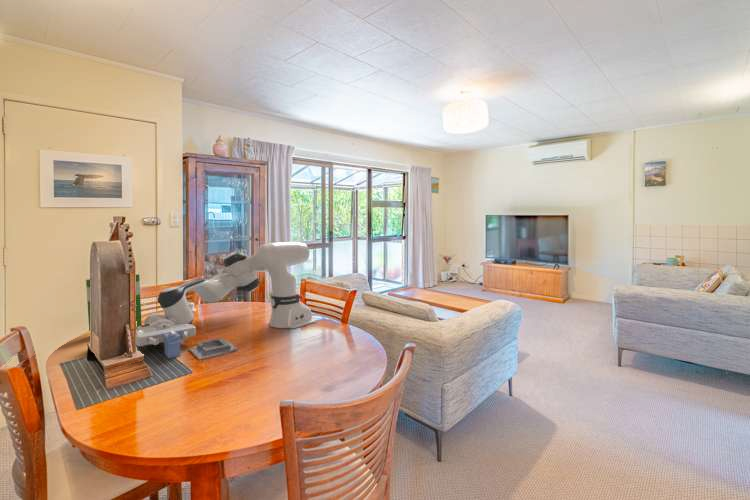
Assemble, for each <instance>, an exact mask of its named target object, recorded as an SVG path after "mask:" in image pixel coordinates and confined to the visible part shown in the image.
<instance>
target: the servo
mask: <svg viewBox="0 0 750 500" xmlns="http://www.w3.org/2000/svg"><path fill="white" fill-rule="evenodd" d="M163 339H164V342H163V343H164V345H163V347H164V355H165V356H166V358H167V359H172V358H175V357H177V358H178V357H180V356H181V343H182V341H181V339H180V336H179V335H178V334H177V333H176V332H174V331H173V330H172V331H170V333H168V334H164V337H163Z"/></svg>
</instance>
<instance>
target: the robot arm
mask: <svg viewBox="0 0 750 500" xmlns="http://www.w3.org/2000/svg"><path fill="white" fill-rule="evenodd" d="M256 250H257V251H256V252H255V253H254V254H253V255H251V256H248V253H243V252H241V251H235V252H231V253H229V254H228V255H226V257H225V258H224V259H223V265H224V268H226V271H227V272H228V273H226V272H224V273H220V274H217V275H214V276H212V277H211V278H209V279H207V277H200V278H199V277H198V278H196V279H192V280H190V281H186V282H184V283H181V284H177V285H175V286H172V287H168V288H165V289H163V290H161V291H160V293H159V294H158V297H157V299H156V300H157V302H158V305H160V307H161V309H162V311H163V313H159V312H154V313H151V314H149V315H148V316H147V317H146V318H145V320H144V323H143V325H142V326H139V327H137V328H136V332H135V346H136V347H143V346H148V345H154V346H157V345H159V344H160V343H161V344H162V343H164V339H163V337H164V334H168V333H170V331H172V330H173V331H174V332H176V333H177V334H178V335H179V336H180V340H181V339H182V340H184V341H185V340H188V338H190V337H195V336H196V335H197V328H196V326H195V325H193V322H194V319H195V316H194V313H192V310H191V308H190V306H189V304H188V302H189V301H188V300H187V299H188V298H187V297H186V296H187V295H186V294H187V293H189V292H192V291H194V292H195V293H196V294H197V295H198V297H199V298H200V299H201V300H202V301H203V302H206V303H211V304H212V303H217V302H219V301H221V300H222V299H223V298H225V297H226V296H227V295H228V294H229V293H230V292H232V290H234V289H236V290H235V291H236V292H240V293H245V294H247V293H252V292H253V291H255V290H256V289H257V288H258V287H259V286H260V283H261V282H260V279H259V277H258V276H257V274H256V272H258V273H266V272H268V274H269V276H270V280H271V295H270V296H271V297H270V304H271V313H270V317H269V322H268V326H269V327H272V328H277V329H296V328H300V327H303V326H306V325H311V324H313V323H314V324H315V323H317V318H316V317H315V316H313V315H312V310H311V308H310V307H309V306H307V305H306V304H305V303H303V302H302V301H300V300H304V295H303V294H298V293H297V279H296V277H295V276H294V274H292V273H289V272H288V271H287V268H288V267H291V266H296V265H300V264H302V263H306V262H307V261H308V259H309V258H310V249H309V246H308V245H307V244H306V243H305V242H299V241H287V242H286V241H280V242H278V241H277V242H268V243H265V244H261V245H259V247H258V248H257V249H256Z"/></svg>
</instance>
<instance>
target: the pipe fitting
mask: <svg viewBox="0 0 750 500" xmlns="http://www.w3.org/2000/svg"><path fill="white" fill-rule="evenodd" d="M188 304H189V306H190V308H191V310H192V313H193V314H194V313H195V312H197V308H195V302H192V301H190V302H189V301H188Z"/></svg>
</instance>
